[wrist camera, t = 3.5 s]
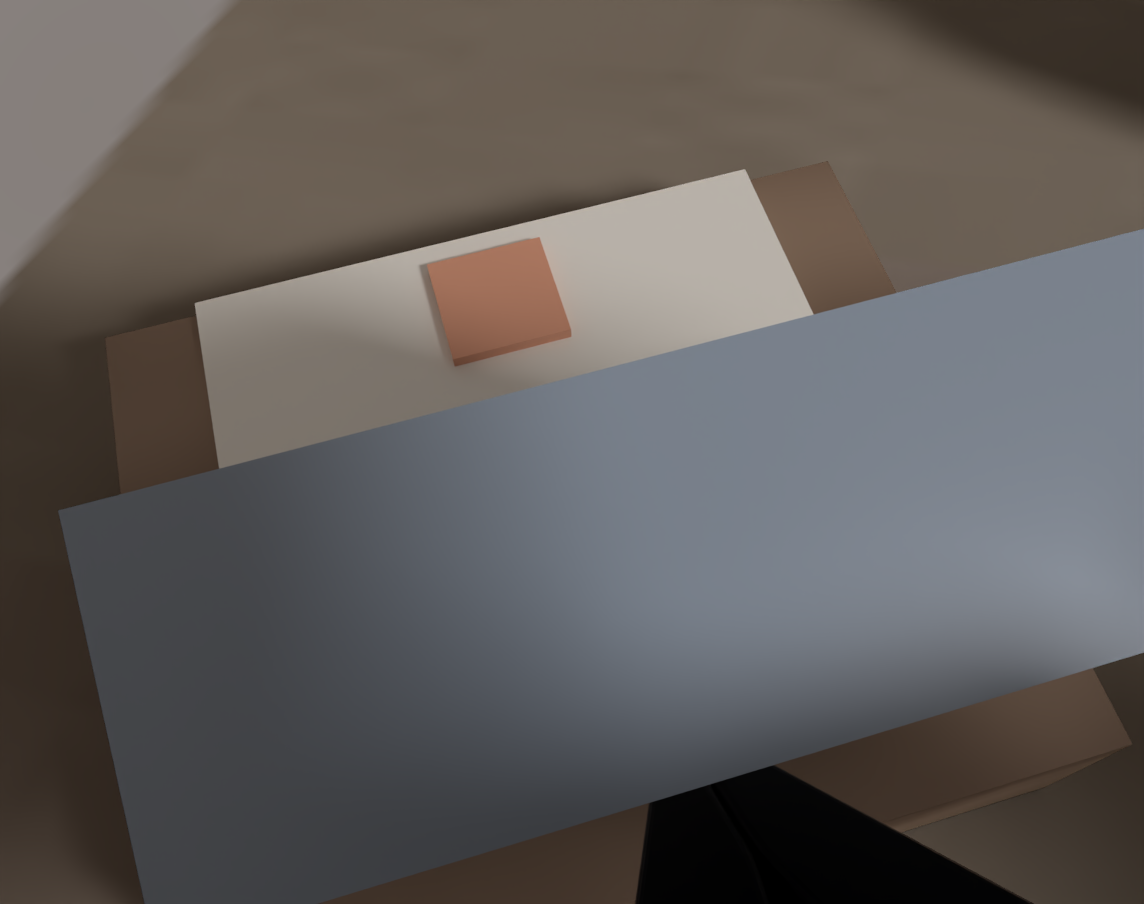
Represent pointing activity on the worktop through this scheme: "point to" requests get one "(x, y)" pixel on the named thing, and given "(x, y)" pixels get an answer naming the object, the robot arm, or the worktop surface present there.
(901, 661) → the block
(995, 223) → the worktop surface
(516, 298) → the switch plate
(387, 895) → the switch base
